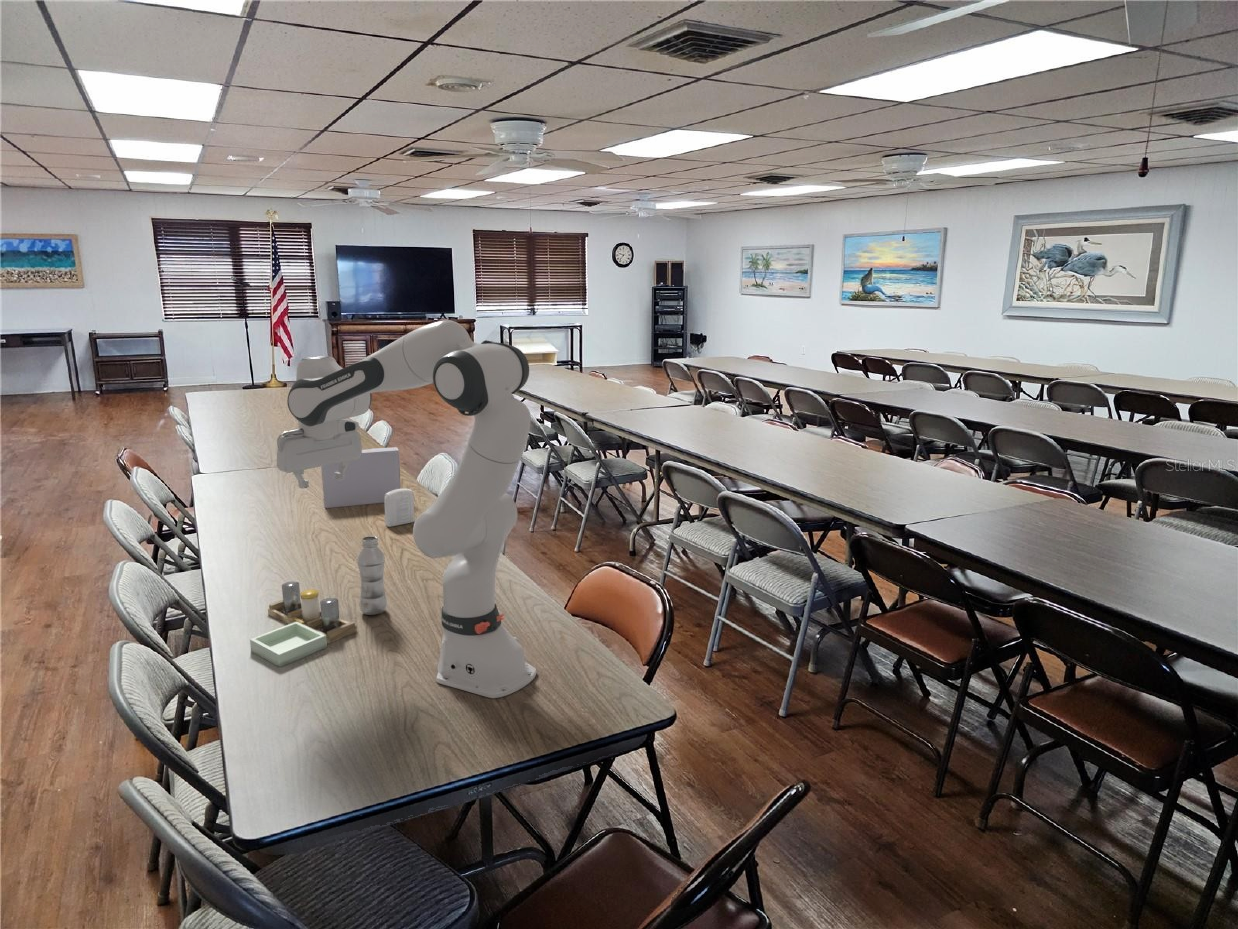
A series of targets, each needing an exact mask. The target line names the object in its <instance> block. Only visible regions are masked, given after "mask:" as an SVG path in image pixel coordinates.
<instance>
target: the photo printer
mask: <svg viewBox="0 0 1238 929" xmlns="http://www.w3.org/2000/svg"><path fill="white" fill-rule="evenodd" d="M383 504H384V523H385V526H386V527H389V528H392V527H395V526H396V527H397V526H400V525H406V524H411V523H414V522H415V520H416V517H415V494H414V491H413V489H409V488H406V487H405V488H401V489H396V490H392V491H390V492H388V493H386V494H385V496H384V503H383Z"/></svg>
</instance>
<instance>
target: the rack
mask: <svg viewBox="0 0 1238 929" xmlns="http://www.w3.org/2000/svg"><path fill="white" fill-rule="evenodd" d="M282 612H283V613H282ZM267 613H268V615H269V616H271V617H273V618H275V619H277V620H279V621H281V622H283V623H285V624H286V625H289V624H291V623H294V622H299V623H301V624H303V625H305V626H307V627H309V628H312V629H314V630H316V631H318V632H320V633H322V634H324V635H326V642H327V644H330V643H333V642H336V641H338V640H340V639H342V638H344V637H347V636H349V635H352V634H354V633H357V631H358V628H357V625H356V622H354V621H350V622H349V621H347V620H344V619H343V618H340V617H339V620H340V627H337V628H335V629H332V630H330V631H328V632H327V634H325V633H323V632H322V620H321V609H320V617H319V618H317V619H314V620H311V621H309V622H307V625H306V624H305V621H303V618H302V606H301V609H298V610H295V611H292V612H290V613H287V615H288V616H287V615H285V614H284V606H283V599H282V600H279V601H275V602H273V603H270V604H269V605H268V609H267ZM320 630H321V631H320Z"/></svg>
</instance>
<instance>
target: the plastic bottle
mask: <svg viewBox="0 0 1238 929" xmlns="http://www.w3.org/2000/svg"><path fill="white" fill-rule="evenodd" d="M378 539H379V538H378V537H377V536H375V535H369V536H368V535H367V536H364V537H362V539H361V547H362V549H361V551H359V554H358V555H357V559H356V560H357V565H358V571H359V578H360V596H359V601H358V602H359V604H358V606H359V610H360V611H361V613H362V614H364V615H368V616H375V615H379V614H383V613H384V611H385V610H386V609H387V603H388V601H387V600H388V599H387V596H386V592H385V585H384V568H385V562H386V561H385V560H386V557H385V554H384V552H383V551H382V550H381V549H380V547H379V540H378Z"/></svg>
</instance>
